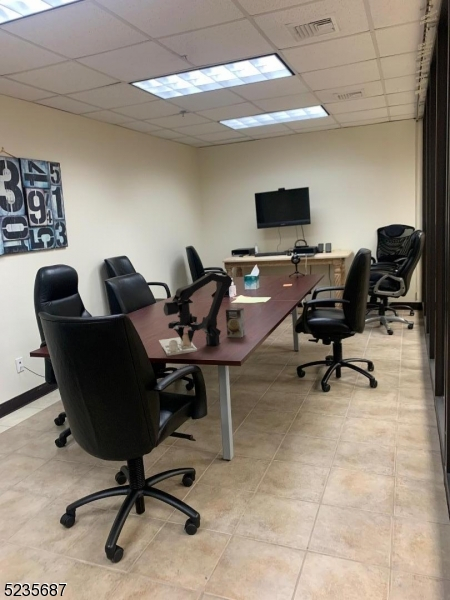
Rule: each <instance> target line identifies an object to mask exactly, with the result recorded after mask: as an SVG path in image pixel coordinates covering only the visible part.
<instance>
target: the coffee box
mask: <svg viewBox="0 0 450 600" xmlns="http://www.w3.org/2000/svg"><path fill="white" fill-rule="evenodd" d="M225 318H226V319H225V321H226V322H225V323H226V337H228V338H241V337H242V338H243V337H244V336H246V327H245V311H244V307H228V308H226V309H225Z"/></svg>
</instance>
